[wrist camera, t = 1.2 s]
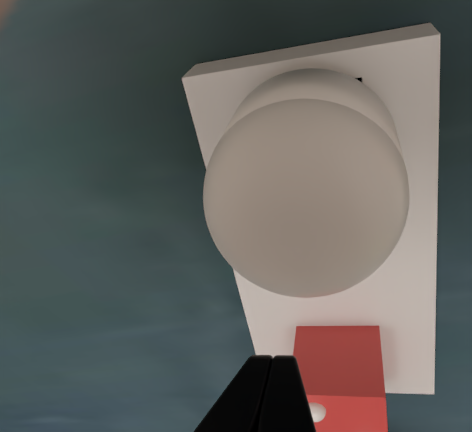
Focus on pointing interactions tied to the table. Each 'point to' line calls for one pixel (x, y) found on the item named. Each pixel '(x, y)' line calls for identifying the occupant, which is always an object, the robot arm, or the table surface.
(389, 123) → the dome button
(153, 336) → the table surface
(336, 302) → the dome base
